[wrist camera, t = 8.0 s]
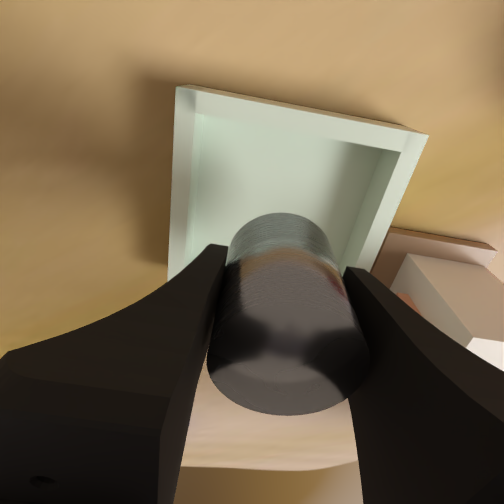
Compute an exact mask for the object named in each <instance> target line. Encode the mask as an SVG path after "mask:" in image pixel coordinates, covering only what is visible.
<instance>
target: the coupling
mask: <svg viewBox="0 0 504 504" xmlns="http://www.w3.org/2000/svg"><path fill="white" fill-rule="evenodd" d="M369 366H370V353H369V349H368V346H367V343H366V340H365V338H364V335H363V332H362V330H361V327H360V324H359V321H358V319H357V316H356V313H355V311H354V308H353V305H352V302H351V300H350V297H349V294H348V291H347V289H346V286H345V283H344V281H343V278H342V275H341V272H340V270H339V267H338V264H337V262H336V259H335V256H334V253H333V251H332V248H331V245H330V243H329V240H328V238H327V236H326V235H325V233H324V232H323V231H322V229H321V228H320V227H319V226H317V225H316V224H315V223H314V222H312V221H311V220H309V219H307V218H305V217H302V216H300V215H296V214H292V213H270V214H266V215H262V216H259V217H257V218H255V219H253V220H251V221H249V222H248V223H246V224H245V225H244V226H243V227H242V228H241V229H239V231H238V232H237V233H236V234H235V236H234V237H233V239H232V241H231V244H230V246H229V250H228V255H227V261H226V267H225V272H224V277H223V282H222V286H221V290H220V294H219V299H218V304H217V309H216V314H215V319H214V324H213V328H212V333H211V338H210V343H209V348H208V353H207V369H208V372H209V375H210V378H211V379H212V381H213V383H214V384H215V386H216V387H217V388H218V390H219V391H221V392H222V393H223V394H224V395H225V396H226V397H227V398H229V399H230V400H232V401H233V402H235V403H237V404H239V405H241V406H243V407H245V408H248V409H250V410H253V411H257V412H261V413H266V414H271V415H286V416H291V415H303V414H309V413H314V412H318V411H321V410H324V409H327V408H330V407H332V406H335V405H336V404H338V403H340V402H342V401H344V400H345V399H346V398H348V397H349V396H351V395H352V394H353V393H354V392H355V391H356V390H357V389H358V388H359V387H360V386H361V384H362V383H363V381H364V380H365V378H366V375H367V373H368V370H369Z"/></svg>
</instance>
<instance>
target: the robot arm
mask: <svg viewBox="0 0 504 504" xmlns="http://www.w3.org/2000/svg"><path fill="white" fill-rule="evenodd" d="M228 248H229V246H224V245H218V244H212V243H210V244H209V245H207V246H206V247H205V249H204V250H203V251H202V252H201V253H200V254H199V255H198V256H197V257H196V258H195V259H194V260H193V261H192V262H191V263H190V264H188V265H187V266H186V267H185V268H184V269H183V270H182V271H181V272H179V273H178V274H177V275H176V276H174V277H173V278H172V279H170V280H169V281H168V282H166V283H165V284H164V285H162V286H161V287H160V288H158V289H157V290H155V291H154V292H152V293H151V294H149V295H147V296H146V297H144V298H143V299H141V300H139V301H138V302H136V303H134V304H132V305H130V306H128V307H126V308H124V309H122V310H120V311H118V312H116V313H114V314H112V315H110V316H108V317H105V318H103V319H101V320H98V321H96V322H94V323H91V324H89V325H86V326H84V327H81V328H79V329H76V330H73V331H71V332H68V333H65V334H62V335H59V336H56V337H53V338H50V339H47V340H44V341H41V342H37V343H34V344H31V345H28V346H25V347H22V348H18V349H15V350H11V351H8V352H7V353H6V354H5V355H4V356H3V357H2V358H1V359H0V504H173V501H174V496H175V491H176V486H177V480H178V476H179V471H180V466H181V461H182V456H183V451H184V446H185V441H186V436H187V431H188V426H189V421H190V416H191V411H192V407H193V402H194V397H195V392H196V388H197V384H198V380H199V376H200V373H201V370H202V366H203V363H204V360H205V357H206V353H207V350H208V347H209V343H210V338H211V333H212V328H213V324H214V319H215V314H216V309H217V304H218V299H219V294H220V290H221V286H222V282H223V277H224V272H225V267H226V261H227V254H228ZM342 278H343V281H344V283H345V286H346V289H347V291H348V294H349V297H350V300H351V302H352V305H353V308H354V311H355V313H356V316H357V319H358V321H359V324H360V327H361V330H362V332H363V335H364V338H365V340H366V343H367V346H368V349H369V353H370V366H369V370H368V373H367V375H366V378H365V380H364V381H363V383H362V384H361V386H360V387H359V388H358V389H357V390H356V391H355V392H354V393H353V394H352V395H351V396H349V397H348V401H349V405H350V409H351V415H352V421H353V427H354V433H355V440H356V446H357V454H358V461H359V469H360V475H361V485H362V494H363V503H364V504H504V371H502V370H500V369H499V368H497V367H495V366H494V365H492V364H490V363H488V362H487V361H485V360H484V359H482V358H480V357H479V356H477V355H476V354H474V353H472V352H471V351H469V350H468V349H466V348H465V347H464V346H462V345H461V344H459V343H458V342H456V341H455V340H453V339H452V338H450V337H449V336H447V335H446V334H445V333H443V332H442V331H440V330H439V329H438V328H436V327H435V326H434V325H433V324H431V323H430V322H429V321H427V320H426V319H425V318H423V317H422V316H421V315H420V314H418V313H417V312H416V311H415V310H413V309H412V308H411V307H410V306H409V305H407V304H406V303H405V302H404V301H403V300H401V299H400V298H399V297H398V296H397V295H396V294H394V293H393V292H392V291H391V290H390V289H389V288H387V287H386V286H385V285H384V284H383V283H382V282H380V281H379V280H378V279H377V278H376V277H374V276H373V275H372V274H371V273H369V272H368V271H366V270H365V269H362V268H356V267H350V266H346V269H345V271H344V274H343V277H342Z"/></svg>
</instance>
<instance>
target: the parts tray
mask: <svg viewBox="0 0 504 504" xmlns="http://www.w3.org/2000/svg"><path fill="white" fill-rule="evenodd" d="M428 137H429V135H427V134H425V133H422V132H419V131H417V130H414V129H411V128H409V127H406V126H403V125H397V124H392V123H387V122H382V121H377V120H372V119H366V118H361V117H356V116H351V115H346V114H341V113H335V112H330V111H325V110H320V109H315V108H310V107H304V106H299V105H294V104H289V103H284V102H279V101H273V100H268V99H263V98H258V97H253V96H248V95H242V94H237V93H232V92H227V91H222V90H217V89H211V88H206V87H201V86H196V85H191V84H188V85H182V86H176V93H175V117H174V140H173V163H172V187H171V210H170V234H169V257H168V280H167V282H168V281H169V280H170V279H172V278H173V277H174V276H176V275H177V274H178V273H179V272H181V271H182V270H183V269H184V268H185V267H186V266H187V265H188V264H190V263H191V262H192V261H193V260H194V259H195V258H196V257H197V256H198V255H199V254H200V253H201V252H202V251H203V250H204V249H205V247H206V246H207V245H209V244H210V243H212V244H218V245H224V246H230V244H231V241H232V239H233V237H234V236H235V234H236V233H237V232H238V231H239V229H241V228H242V227H243V226H244V225H245V224H246V223H248V222H249V221H251V220H253V219H255V218H257V217H259V216H262V215H266V214H270V213H292V214H296V215H300V216H302V217H305V218H307V219H309V220H311V221H312V222H314V223H315V224H316V225H317V226H319V227H320V228H321V229H322V231H323V232H324V233H325V235H326V236H327V238H328V240H329V243H330V245H331V248H332V251H333V253H334V256H335V259H336V262H337V264H338V267H339V270H340V272H341V275H342V277H343V274H344V271H345V269H346V266H350V267H356V268H362V269H365V270H366V271H368V272H369V273H370V270H371V268H372V266H373V263H374V261H375V259H376V256H377V254H378V252H379V249H380V247H381V245H382V243H383V240H384V238H385V236H386V233H387V231H388V229H389V226H390V224H391V222H392V220H393V217H394V215H395V213H396V210H397V208H398V206H399V203H400V201H401V199H402V196H403V194H404V192H405V190H406V187H407V185H408V183H409V180H410V178H411V176H412V173H413V171H414V169H415V167H416V164H417V162H418V160H419V157H420V155H421V153H422V150H423V148H424V146H425V143H426V141H427V139H428ZM228 250H229V248H228ZM227 255H228V254H227Z"/></svg>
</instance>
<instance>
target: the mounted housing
mask: <svg viewBox="0 0 504 504" xmlns="http://www.w3.org/2000/svg"><path fill="white" fill-rule="evenodd" d="M497 252H498V251H497V250H495V249H494V248H493V247H492V246H490V245H489V244H485V243H479V242H473V241H467V240H462V239H456V238H450V237H445V236H439V235H433V234H428V233H422V232H416V231H411V230H405V229H399V228H393V227H389V229H388V231H387V233H386V236H385V238H384V240H383V243H382V245H381V247H380V249H379V252H378V254H377V256H376V259H375V261H374V263H373V266H372V268H371V270H370V273H371V274H372V275H373V276H374V277H376V278H377V279H378V280H379V281H380V282H382V283H383V284H384V285H385V286H386V287H387V288H389V289H390V290H391V291H392V292H393V293H394V294H396V295H397V296H398V297H399V298H400V299H401V300H403V301H404V302H405V303H406V304H407V305H409V306H410V307H411V308H412V309H413V310H415V311H416V312H417V313H418V314H420V315H421V316H422V317H423V318H425V319H426V320H427V321H429V322H430V323H431V324H433V325H434V326H435V327H436V328H438V329H439V330H440V331H442V332H443V333H445V334H446V335H447V336H449V337H450V338H452V339H453V340H455V341H456V342H458V343H459V344H461V345H462V346H464V347H465V348H466V349H468V350H469V351H471V352H472V353H474V354H476V355H477V356H479V357H480V358H482V359H484V360H485V361H487V362H488V363H490V364H492V365H494V366H495V367H497V368H499V369H500V370H502V371H504V283H503V282H501V281H500V280H499V279H498V278H497V277H496V276H495V275H493V274H492V273H491V272H490V271H489V270H488V269H487V267H488V266H489V264H490V263H491V261H492V260H493V258H494V257H495V255H496V253H497Z"/></svg>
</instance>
